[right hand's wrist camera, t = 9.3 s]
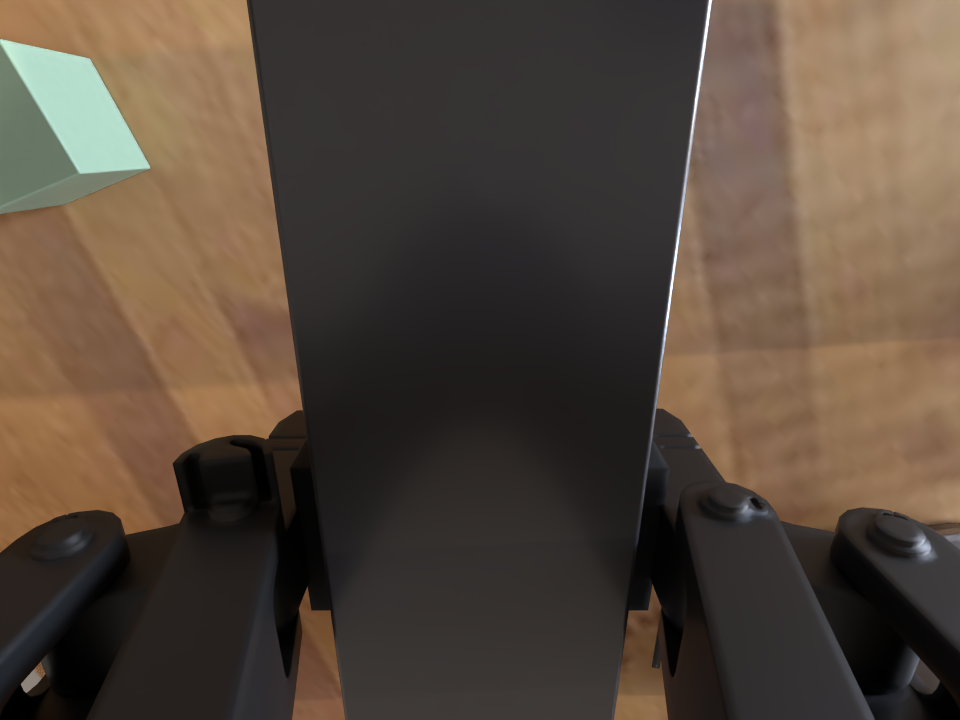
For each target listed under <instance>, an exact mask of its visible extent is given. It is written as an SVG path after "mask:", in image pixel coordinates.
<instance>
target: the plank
mask: <svg viewBox="0 0 960 720" xmlns="http://www.w3.org/2000/svg"><path fill="white" fill-rule="evenodd" d="M711 5H712V0H247V6H248V14H249V21H250V28H251V35H252V43H253V50H254V57H255V65H256V72H257V79H258V86H259V94H260V101H261V108H262V116H263V123H264V130H265V137H266V145H267V152H268V159H269V167H270V174H271V181H272V188H273V196H274V203H275V210H276V218H277V225H278V232H279V239H280V247H281V254H282V261H283V268H284V276H285V283H286V290H287V298H288V305H289V312H290V319H291V327H292V334H293V341H294V349H295V356H296V363H297V370H298V378H299V385H300V392H301V400H302V407H303V414H304V421H305V429H306V436H307V443H308V450H309V458H310V465H311V472H312V480H313V487H314V494H315V501H316V509H317V516H318V523H319V531H320V538H321V545H322V552H323V560H324V567H325V574H326V582H327V589H328V596H329V603H330V611H331V618H332V625H333V632H334V640H335V647H336V654H337V662H338V669H339V676H340V683H341V691H342V698H343V705H344V713H345V720H614V714H615V707H616V700H617V692H618V685H619V678H620V670H621V663H622V656H623V649H624V641H625V634H626V627H627V619H628V612H629V605H630V597H631V590H632V583H633V575H634V568H635V561H636V553H637V546H638V539H639V532H640V524H641V517H642V510H643V502H644V495H645V488H646V480H647V473H648V466H649V458H650V451H651V444H652V436H653V429H654V422H655V414H656V407H657V400H658V393H659V385H660V378H661V371H662V363H663V356H664V349H665V341H666V334H667V327H668V319H669V312H670V305H671V297H672V290H673V283H674V275H675V268H676V261H677V254H678V246H679V239H680V232H681V224H682V217H683V210H684V202H685V195H686V188H687V180H688V173H689V166H690V158H691V151H692V144H693V136H694V129H695V122H696V115H697V107H698V100H699V93H700V85H701V78H702V71H703V63H704V56H705V49H706V41H707V34H708V27H709V19H710V12H711Z"/></svg>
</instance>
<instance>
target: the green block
mask: <svg viewBox="0 0 960 720" xmlns="http://www.w3.org/2000/svg"><path fill="white" fill-rule="evenodd" d="M148 169H150V165H149V164H148V162H147V160H146V158H145V157H144V155H143V153H142V151H141V149H140V148H139V146H138V144H137V142H136V140H135V139H134V137H133V135H132V133H131V131H130V130H129V128H128V126H127V124H126V123H125V121H124V119H123V117H122V115H121V114H120V112H119V110H118V108H117V106H116V105H115V103H114V101H113V99H112V97H111V96H110V94H109V92H108V90H107V88H106V87H105V85H104V83H103V81H102V80H101V78H100V76H99V74H98V72H97V71H96V69H95V67H94V65H93V63H92V62H91V60H90V59H89V58H86V57H81V56H76V55H72V54H67V53H63V52H58V51H53V50H49V49H44V48H39V47H35V46H30V45H26V44H21V43H16V42H12V41H7V40H3V39H0V214H4V213H11V212H17V211H24V210H31V209H38V208H44V207H51V206H58V205H64V204H67V203H70V202H72V201H74V200H77V199H79V198H81V197H84V196H86V195H89V194H91V193H93V192H96V191H98V190H101V189H103V188H105V187H108V186H110V185H112V184H115V183H117V182H120V181H122V180H124V179H127V178H129V177H131V176H134V175H136V174H139V173H141V172H143V171H146V170H148Z"/></svg>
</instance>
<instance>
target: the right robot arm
mask: <svg viewBox="0 0 960 720" xmlns="http://www.w3.org/2000/svg"><path fill="white" fill-rule="evenodd" d="M173 467H174V471H175V475H176V479H177V483H178V487H179V491H180V495H181V499H182V503H183V507H184V512H185V513H184V515H183V517H182V519H181V521H180V523H179V524H175V525H171V526H167V527H163V528H158V529H153V530H148V531H143V532H138V533H133V534H128V535H125V532H124V529H123V526H122V522H121V519H120V518H118V517H117V516H116V515H115V514H114V513H112V512H106V511H100V510H94V511H83V512H75V513H70V514H68V515H63V516H60V517H56V518H54V519H52V520H51V521H49V522H46V523H44V524H42V525H40V526H37V527H35V528H34V529H32V530H30V531H29V532H27V533H26V534H24V535H23V536H21V537H20V538H18V539H17V540H15V541H14V542H13V543H12V544H11V545H9V546H8V547H7V548H6V549H4V550H3V551H2V552H1V553H0V720H292V715H293V706H294V698H295V689H296V681H297V673H298V664H299V656H300V647H301V639H302V627H301V620H300V613H299V606H300V604H301V601H302V598H303V596H304V593H305V591H306V588H307V586H308V591H309V597H310V604H311V610H330V603H329V596H328V589H327V582H326V574H325V567H324V560H323V552H322V545H321V538H320V531H319V523H318V516H317V509H316V501H315V494H314V487H313V480H312V472H311V465H310V458H309V450H308V443H307V436H306V429H305V421H304V414H303V411H296V412H294V413H293V414H291V415H290V416H288V417H286V418H285V419H283V420H282V421H280V422H279V423H278V424H277V426H276V427H275V428H274V430H273V431H272V433H271V434H270V435H269V439H266V440H265V439H264V438H260V437H256V436H252V435H232V436H227V437H221V438H216V439H212V440H210V441H207V442H204V443H201V444H198V445H196V446H194V447H192V448H191V449H189V450H187V451H186V452H184V453H182V454H181V455H180V456H179V457H178V458H177V459H176V460H175V461H174V463H173ZM652 584H653V586H654V589H655V592H656V594H657V597H658V599H659V602H660V604H661V613H660V620H659V626H658V632H657V638H656V644H655V650H654V656H653V663H652V667H653V668H659V667H660V661H661V663H662V671H663V680H664V688H665V697H666V705H667V713H668V720H960V523H952V524H941V525H933V526H926V525H925V524H922V523H920V522H918V521H915V520H913V519H911V518H909V517H908V516H906V515H903V514H900V513H896V512H894V513H893V512H892V511H888V510H883V509H873V508H857V509H851V510H847V511H846V512H845V513H844V514H842V515H841V516H840V517H839V521H838V524H837V527H836V530H835V533H834V532H829V531H824V530H819V529H814V528H809V527H804V526H799V525H794V524H790V523H787V522H783V521H780V520H779V518H778V516H777V514H776V512H775V511H774V509H773V508H772V507H771V506H770V504H769V503H768V502H767V501H766V500H765V499H763V498H762V497H760V496H759V495H757V494H756V493H755V492H753V491H751V490H748V489H746V488H744V487H741V486H739V485H736V484H732V483H727V482H725V480H724V479H723V478H722V476H721V475H720V473H719V472H718V471H717V469H716V468H715V467H714V465H713V464H712V462H711V461H710V460H709V458H708V457H707V456H706V454H705V453H704V451H703V450H702V449H699V445H698V443H697V442H696V440H695V439H694V438H693V437H691V434H690V432H689V431H688V429H687V428H686V427H685V425H684V424H683V423H682V421H681V420H679V419H678V418H676V417H675V416H673V415H672V414H670V413H668V412H667V411H665V410H664V409H656V414H655V422H654V429H653V436H652V444H651V451H650V458H649V466H648V473H647V480H646V488H645V495H644V502H643V510H642V517H641V524H640V532H639V539H638V546H637V553H636V561H635V568H634V575H633V583H632V590H631V597H630V605H629V610H648V608H649V601H650V595H651V588H652ZM40 662H41V664H42V666H43V668H44V671H45V673H46V675H45V676H44V677H43V678H42V679H41V680H40V682H39V683H38V684H37V685H36V686H35V687H33V688H32V689H31V690H30V691H29V692H27V693H25V692H24V691H23V688H22V686H21V683H22V682H23V681H24V680H25V678H26V677H27V676H28V675H29V674H30V673H31V672H32V671H33V670H34V668H35V667H36V666H37V665H38V664H39V663H40Z"/></svg>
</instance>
